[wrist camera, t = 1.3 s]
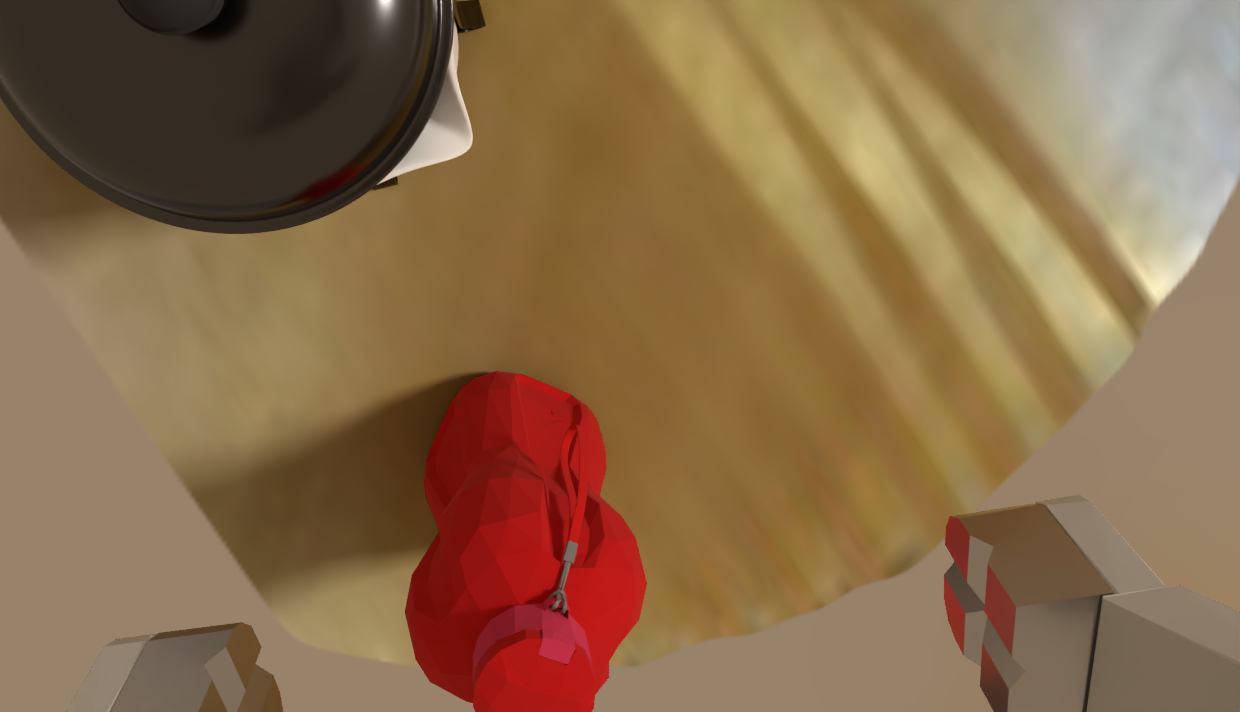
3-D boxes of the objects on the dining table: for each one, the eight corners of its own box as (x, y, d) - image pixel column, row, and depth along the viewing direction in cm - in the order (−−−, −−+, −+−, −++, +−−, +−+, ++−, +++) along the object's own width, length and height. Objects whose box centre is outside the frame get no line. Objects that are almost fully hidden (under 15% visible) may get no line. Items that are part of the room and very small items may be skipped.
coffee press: (452, -151, 47) (404, -532, 19) (511, 166, 52) (544, 249, 23) (101, -103, 46) (-540, -439, 17) (193, 219, 50) (-193, 379, 22)
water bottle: (628, 381, 56) (734, 590, 32) (551, 536, 58) (598, 842, 34) (485, 320, 54) (486, 496, 30) (411, 483, 56) (356, 770, 32)
